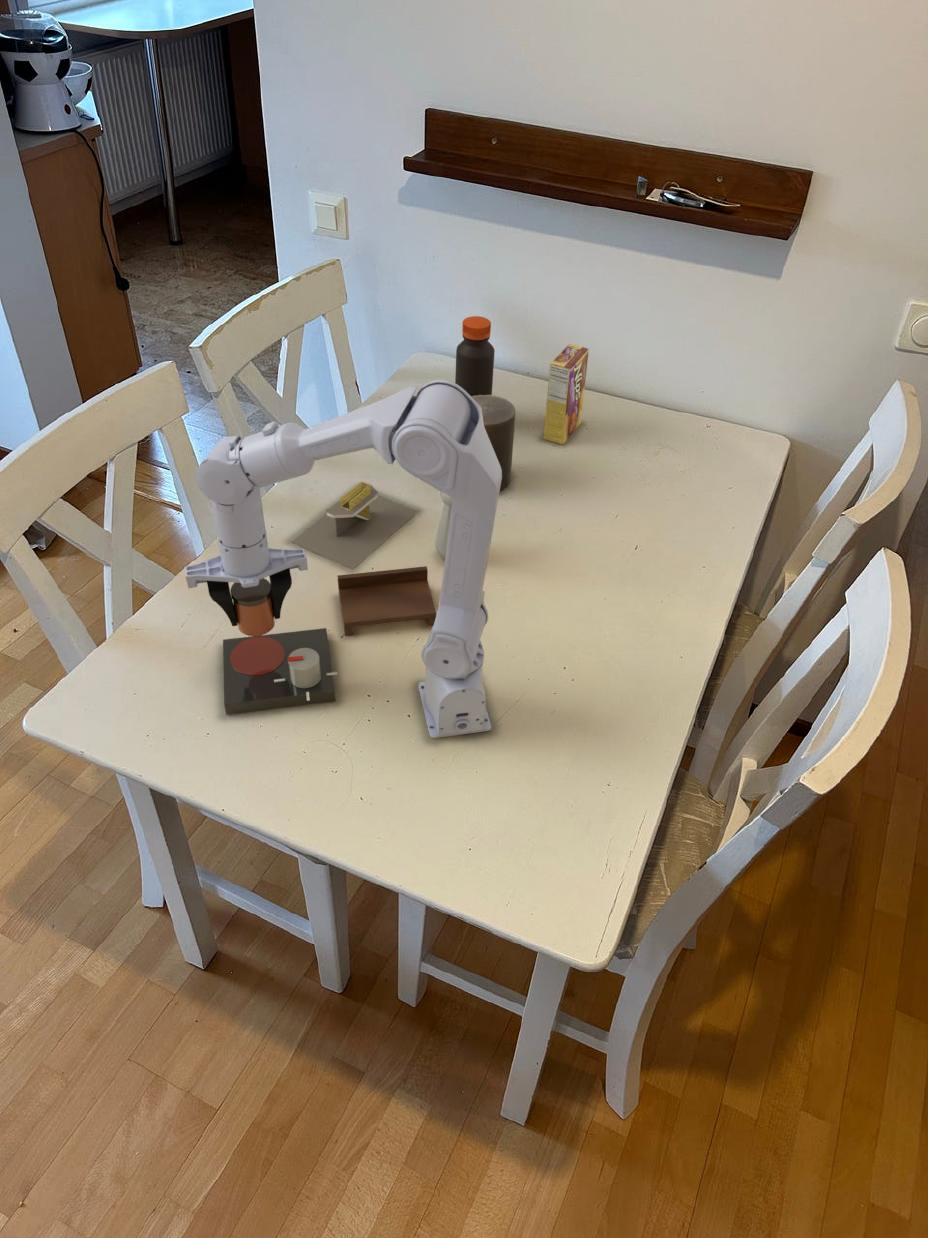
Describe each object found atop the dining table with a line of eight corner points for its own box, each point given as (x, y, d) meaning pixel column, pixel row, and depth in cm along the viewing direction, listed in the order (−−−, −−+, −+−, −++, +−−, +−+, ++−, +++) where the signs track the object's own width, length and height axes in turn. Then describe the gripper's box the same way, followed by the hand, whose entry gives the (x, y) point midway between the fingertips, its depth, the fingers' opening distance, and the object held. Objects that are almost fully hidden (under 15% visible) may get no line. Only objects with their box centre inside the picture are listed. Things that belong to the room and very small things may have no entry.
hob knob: (319, 664, 121) (317, 644, 119) (322, 686, 118) (320, 666, 116) (289, 668, 121) (286, 647, 118) (291, 690, 118) (288, 669, 115)
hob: (341, 707, 119) (340, 695, 117) (226, 721, 116) (224, 710, 115) (331, 637, 128) (330, 626, 127) (224, 649, 126) (222, 638, 124)
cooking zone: (286, 672, 120) (286, 671, 120) (230, 678, 119) (230, 678, 119) (283, 634, 125) (283, 634, 125) (229, 640, 124) (229, 640, 124)
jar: (284, 620, 119) (279, 586, 115) (257, 642, 116) (251, 607, 112) (255, 605, 121) (250, 570, 117) (228, 626, 118) (221, 591, 114)
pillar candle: (506, 498, 154) (513, 420, 144) (449, 491, 155) (452, 413, 145) (513, 466, 161) (520, 390, 151) (458, 460, 162) (461, 383, 152)
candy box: (560, 417, 174) (569, 342, 164) (581, 423, 173) (591, 348, 162) (541, 439, 168) (549, 362, 158) (562, 445, 167) (572, 368, 156)
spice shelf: (436, 625, 131) (436, 602, 128) (345, 636, 128) (343, 612, 125) (426, 589, 136) (426, 566, 133) (339, 598, 134) (337, 575, 131)
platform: (418, 511, 151) (418, 477, 146) (352, 569, 139) (350, 535, 135) (359, 487, 155) (357, 454, 150) (291, 541, 143) (287, 507, 139)
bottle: (496, 421, 172) (503, 320, 158) (477, 437, 168) (483, 334, 154) (466, 410, 175) (470, 309, 161) (446, 425, 170) (449, 323, 157)
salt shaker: (467, 571, 140) (471, 501, 131) (431, 565, 141) (432, 495, 132) (475, 547, 144) (479, 478, 135) (439, 542, 145) (441, 473, 136)
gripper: (180, 563, 104) (200, 648, 113) (308, 544, 107) (316, 628, 117) (176, 527, 109) (195, 611, 118) (298, 510, 112) (307, 592, 122)
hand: (255, 617), depth 118 cm, fingers closed on jar, 5 cm apart
